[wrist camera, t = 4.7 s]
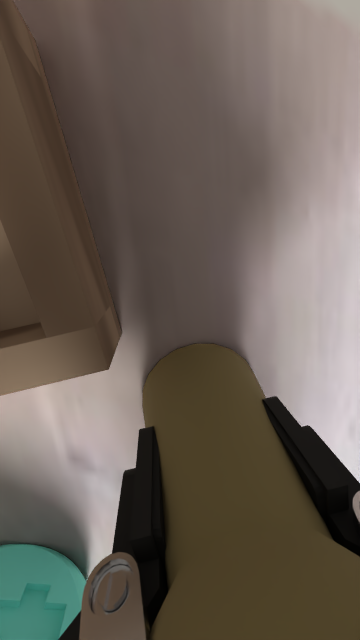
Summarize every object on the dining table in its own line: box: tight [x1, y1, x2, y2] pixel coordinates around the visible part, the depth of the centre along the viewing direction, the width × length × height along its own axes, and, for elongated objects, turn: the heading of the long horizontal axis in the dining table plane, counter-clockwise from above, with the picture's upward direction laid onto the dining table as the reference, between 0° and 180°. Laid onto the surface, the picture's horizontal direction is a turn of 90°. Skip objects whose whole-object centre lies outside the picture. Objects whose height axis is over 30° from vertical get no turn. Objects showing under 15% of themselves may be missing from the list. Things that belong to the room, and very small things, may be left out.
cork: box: [143, 344, 360, 640], centre depth 8 cm, size 6×6×11 cm
